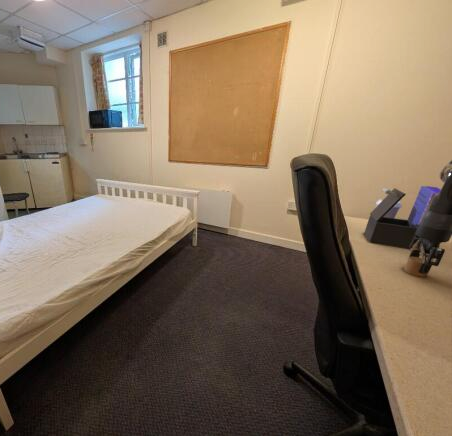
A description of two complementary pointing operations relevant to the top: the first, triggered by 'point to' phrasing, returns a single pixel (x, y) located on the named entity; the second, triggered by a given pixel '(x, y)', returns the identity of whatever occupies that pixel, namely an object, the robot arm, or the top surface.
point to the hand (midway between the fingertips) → (416, 267)
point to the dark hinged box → (390, 232)
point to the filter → (413, 266)
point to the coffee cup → (393, 211)
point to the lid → (387, 203)
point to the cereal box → (422, 203)
